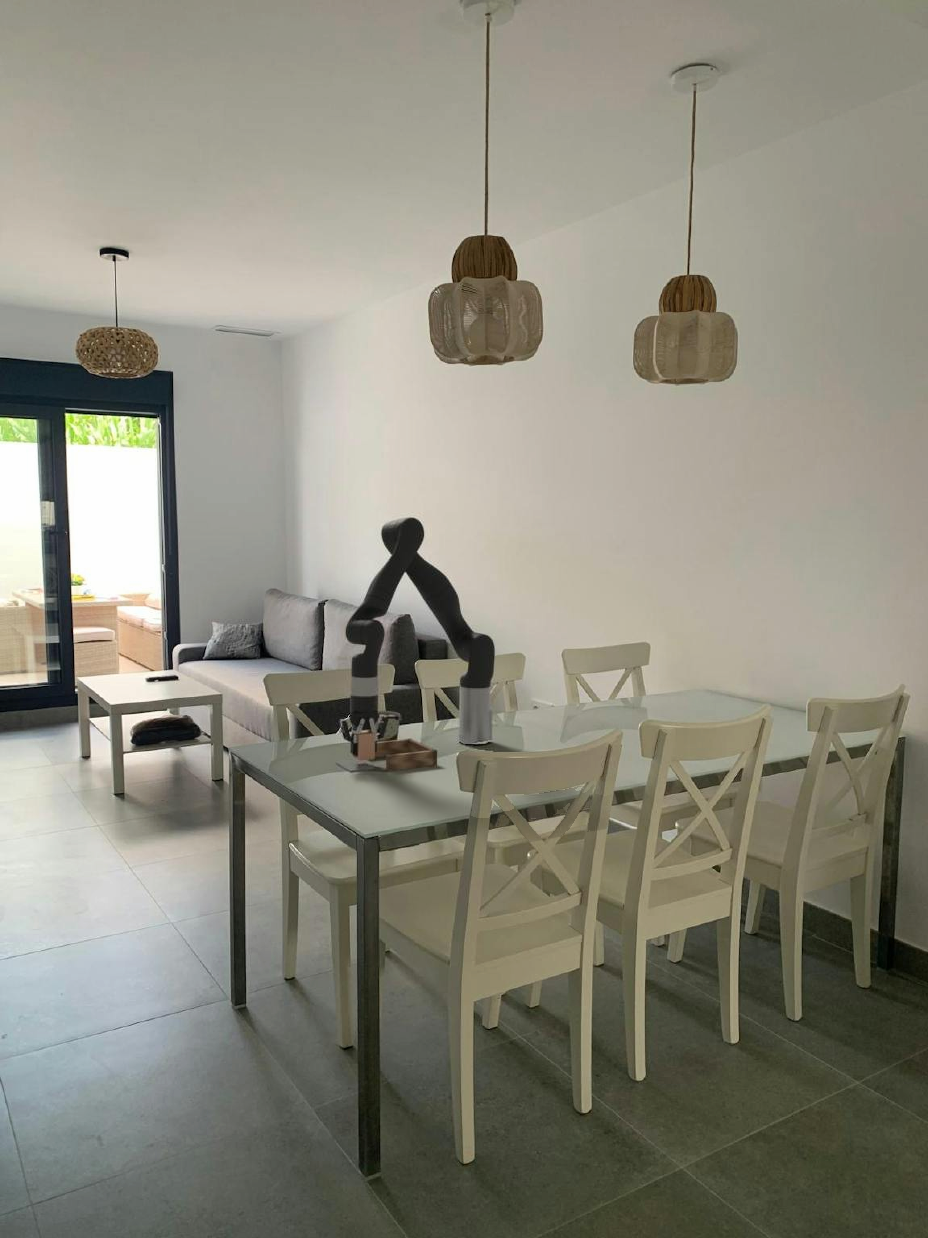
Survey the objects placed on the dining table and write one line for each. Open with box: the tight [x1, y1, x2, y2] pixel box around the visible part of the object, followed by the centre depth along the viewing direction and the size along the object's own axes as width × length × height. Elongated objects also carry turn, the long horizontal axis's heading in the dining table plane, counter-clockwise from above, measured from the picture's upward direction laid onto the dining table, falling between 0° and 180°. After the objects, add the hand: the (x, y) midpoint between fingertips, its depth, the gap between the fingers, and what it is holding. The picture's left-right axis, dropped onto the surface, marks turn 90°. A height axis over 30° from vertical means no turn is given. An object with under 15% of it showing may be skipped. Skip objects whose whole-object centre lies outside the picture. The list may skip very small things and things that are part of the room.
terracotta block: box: [352, 730, 376, 761], centre depth 261 cm, size 4×4×7 cm
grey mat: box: [335, 759, 375, 773], centre depth 260 cm, size 7×10×1 cm
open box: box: [375, 738, 438, 772], centre depth 266 cm, size 15×16×4 cm
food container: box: [363, 710, 402, 742], centre depth 284 cm, size 12×6×10 cm, turn 111°
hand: (363, 754), depth 261 cm, fingers closed on terracotta block, 4 cm apart
